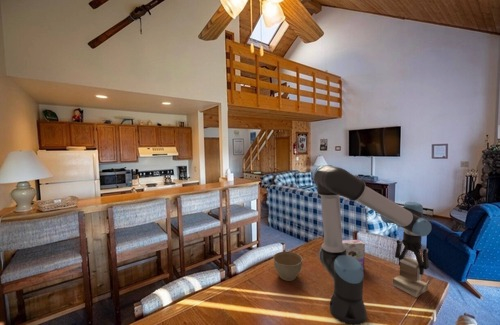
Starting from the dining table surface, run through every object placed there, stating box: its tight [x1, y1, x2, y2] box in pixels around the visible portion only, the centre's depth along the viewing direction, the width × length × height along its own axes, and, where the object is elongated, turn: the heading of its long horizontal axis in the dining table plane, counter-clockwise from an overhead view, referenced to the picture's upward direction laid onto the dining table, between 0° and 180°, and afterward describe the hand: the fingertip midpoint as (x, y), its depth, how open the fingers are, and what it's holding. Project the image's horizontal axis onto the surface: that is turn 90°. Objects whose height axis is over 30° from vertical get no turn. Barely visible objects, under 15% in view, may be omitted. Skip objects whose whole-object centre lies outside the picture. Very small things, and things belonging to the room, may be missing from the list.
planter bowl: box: [273, 251, 303, 282], centre depth 127 cm, size 16×16×11 cm
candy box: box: [342, 239, 366, 271], centre depth 135 cm, size 14×6×16 cm, turn 84°
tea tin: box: [399, 256, 423, 282], centre depth 115 cm, size 7×7×8 cm
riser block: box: [392, 274, 429, 298], centre depth 116 cm, size 11×11×4 cm
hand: (410, 275), depth 116 cm, fingers closed on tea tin, 7 cm apart
